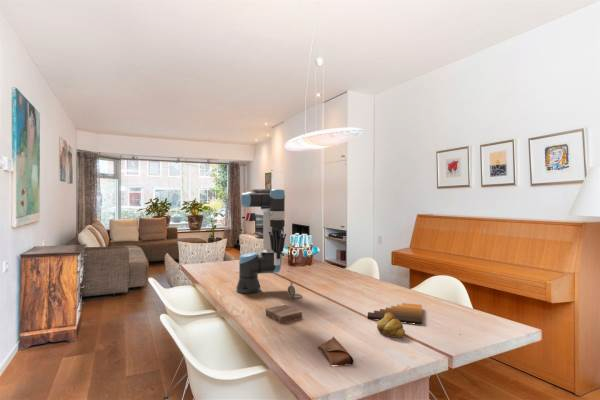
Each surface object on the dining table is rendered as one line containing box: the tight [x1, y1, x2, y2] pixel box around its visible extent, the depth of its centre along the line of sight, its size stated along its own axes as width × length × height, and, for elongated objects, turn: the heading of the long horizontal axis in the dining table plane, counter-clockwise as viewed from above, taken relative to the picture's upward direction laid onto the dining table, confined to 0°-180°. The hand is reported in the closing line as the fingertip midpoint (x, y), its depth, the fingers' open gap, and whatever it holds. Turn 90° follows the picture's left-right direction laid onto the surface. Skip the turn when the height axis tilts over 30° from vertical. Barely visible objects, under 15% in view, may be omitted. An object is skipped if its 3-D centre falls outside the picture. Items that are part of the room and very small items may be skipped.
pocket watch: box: [287, 281, 303, 299], centre depth 204 cm, size 8×8×10 cm
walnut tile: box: [265, 304, 303, 325], centre depth 171 cm, size 4×12×14 cm
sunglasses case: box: [316, 336, 354, 366], centre depth 130 cm, size 18×7×7 cm
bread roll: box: [376, 312, 406, 339], centre depth 150 cm, size 13×10×8 cm
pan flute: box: [367, 302, 423, 325], centre depth 176 cm, size 25×3×25 cm
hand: (277, 264), depth 179 cm, fingers closed
